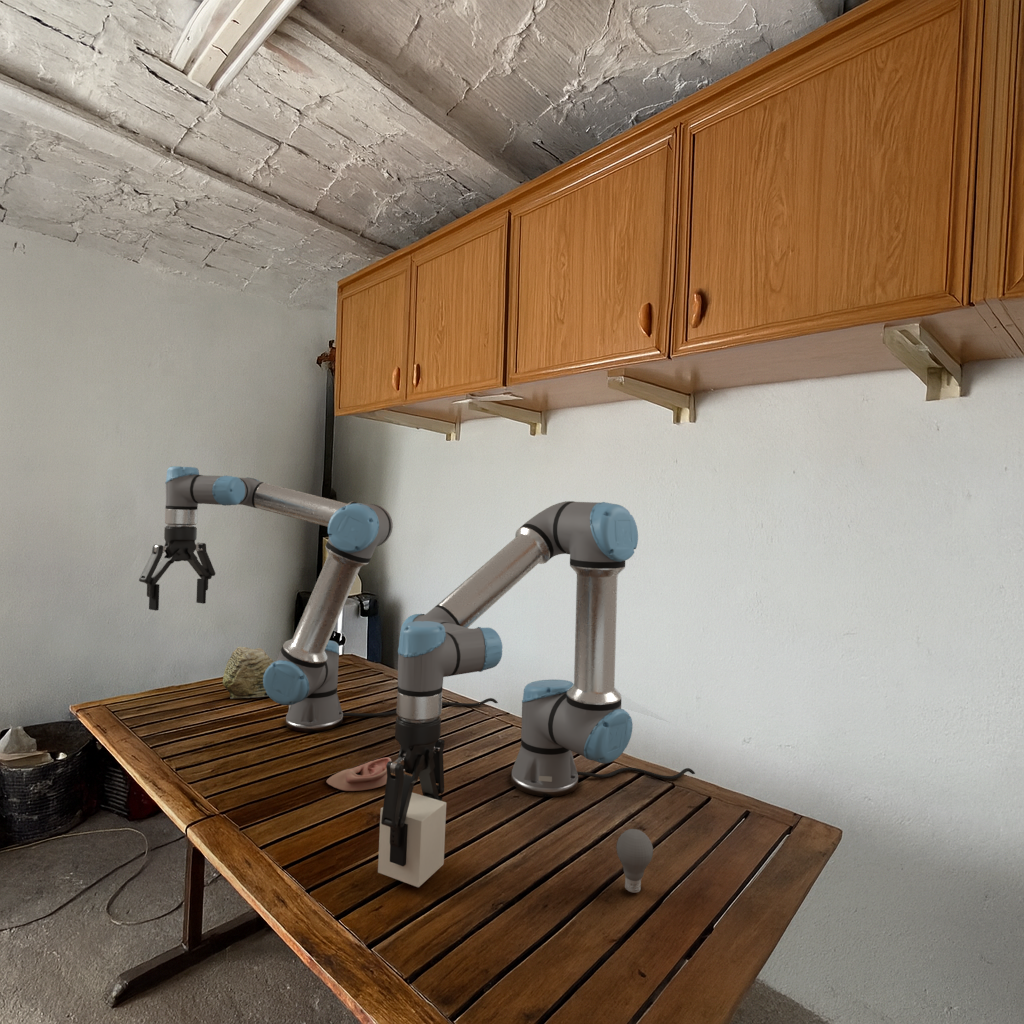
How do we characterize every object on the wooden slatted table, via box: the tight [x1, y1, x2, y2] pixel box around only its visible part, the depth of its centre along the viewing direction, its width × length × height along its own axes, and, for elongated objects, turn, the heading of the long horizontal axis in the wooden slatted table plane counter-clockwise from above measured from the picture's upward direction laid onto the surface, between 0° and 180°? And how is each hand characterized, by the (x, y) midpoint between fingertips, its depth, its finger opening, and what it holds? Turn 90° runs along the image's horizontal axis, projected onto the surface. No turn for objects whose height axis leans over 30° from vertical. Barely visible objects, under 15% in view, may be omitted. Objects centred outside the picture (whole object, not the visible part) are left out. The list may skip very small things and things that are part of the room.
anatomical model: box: [326, 756, 393, 792], centre depth 142 cm, size 13×4×12 cm
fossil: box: [222, 646, 275, 699], centre depth 198 cm, size 9×18×15 cm, turn 132°
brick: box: [377, 792, 447, 888], centre depth 106 cm, size 8×8×11 cm
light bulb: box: [615, 828, 654, 894], centre depth 106 cm, size 6×6×10 cm
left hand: (178, 606), depth 166 cm, fingers open, 13 cm apart
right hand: (412, 850), depth 106 cm, fingers closed on brick, 8 cm apart
